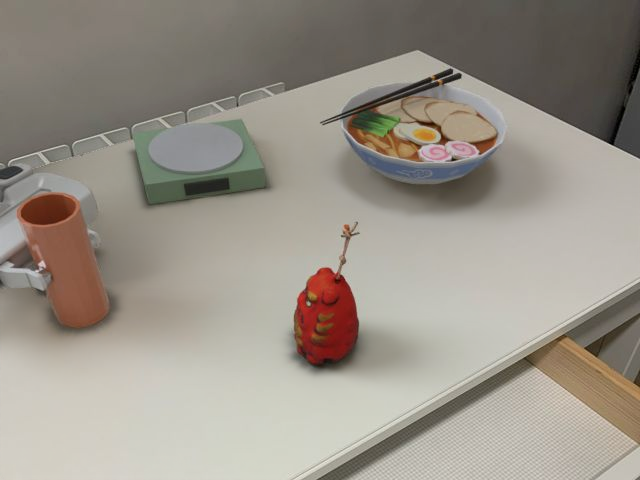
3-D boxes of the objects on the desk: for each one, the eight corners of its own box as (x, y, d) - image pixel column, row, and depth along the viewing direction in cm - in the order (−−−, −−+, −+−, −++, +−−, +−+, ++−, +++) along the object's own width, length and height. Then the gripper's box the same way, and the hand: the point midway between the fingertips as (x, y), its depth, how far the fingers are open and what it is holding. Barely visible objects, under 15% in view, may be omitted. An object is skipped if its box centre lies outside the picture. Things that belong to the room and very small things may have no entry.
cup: (56, 332, 73) (17, 231, 63) (54, 297, 77) (16, 197, 67) (112, 322, 75) (81, 221, 64) (107, 288, 78) (77, 188, 68)
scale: (149, 206, 89) (144, 182, 86) (136, 152, 97) (131, 129, 95) (265, 188, 92) (264, 165, 89) (243, 138, 100) (241, 115, 98)
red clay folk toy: (287, 326, 75) (284, 208, 63) (347, 317, 76) (355, 200, 64) (302, 375, 70) (301, 257, 58) (366, 364, 71) (378, 247, 59)
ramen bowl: (401, 238, 85) (409, 179, 79) (299, 160, 97) (298, 104, 90) (535, 178, 95) (551, 121, 88) (427, 114, 106) (435, 59, 100)
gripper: (-117, 249, 66) (-14, 294, 62) (31, 155, 77) (126, 188, 73) (-87, 298, 71) (10, 343, 67) (48, 203, 82) (138, 236, 78)
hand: (72, 261), depth 70 cm, fingers closed on cup, 6 cm apart
